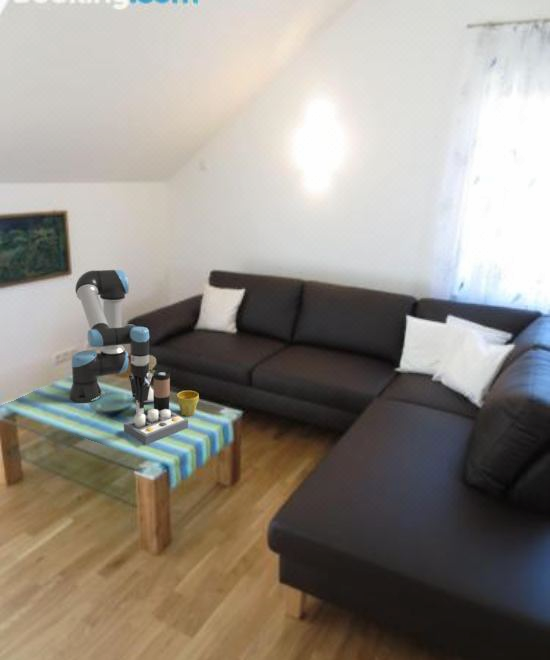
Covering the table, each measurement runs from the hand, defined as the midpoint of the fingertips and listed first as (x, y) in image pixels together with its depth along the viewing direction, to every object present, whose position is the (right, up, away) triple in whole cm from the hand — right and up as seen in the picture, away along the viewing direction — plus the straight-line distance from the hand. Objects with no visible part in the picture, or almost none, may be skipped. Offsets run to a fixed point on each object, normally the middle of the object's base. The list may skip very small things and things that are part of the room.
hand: (140, 414), depth 216 cm
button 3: (+8, -5, +13) cm, 16 cm away
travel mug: (+4, -3, +25) cm, 25 cm away
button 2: (+4, -4, +7) cm, 9 cm away
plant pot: (+16, -4, +25) cm, 30 cm away
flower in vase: (-5, +1, +36) cm, 36 cm away
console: (+6, -8, +6) cm, 12 cm away
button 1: (0, -6, +2) cm, 6 cm away
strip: (+9, -5, +3) cm, 11 cm away
